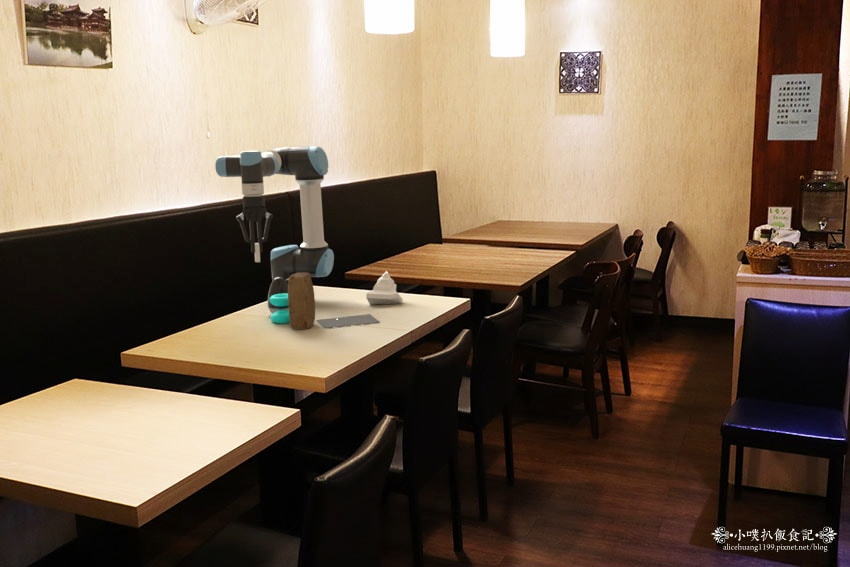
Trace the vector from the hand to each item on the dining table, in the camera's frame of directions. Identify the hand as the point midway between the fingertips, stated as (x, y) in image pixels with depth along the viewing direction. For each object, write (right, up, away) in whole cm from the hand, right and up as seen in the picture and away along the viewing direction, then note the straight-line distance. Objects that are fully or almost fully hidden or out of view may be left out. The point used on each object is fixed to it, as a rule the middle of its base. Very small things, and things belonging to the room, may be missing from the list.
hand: (257, 261), depth 282 cm
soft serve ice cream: (+43, -16, +45) cm, 65 cm away
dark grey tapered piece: (+3, -20, +30) cm, 36 cm away
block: (+15, -24, +10) cm, 30 cm away
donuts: (+6, -22, +20) cm, 30 cm away
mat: (+31, -22, +16) cm, 41 cm away
